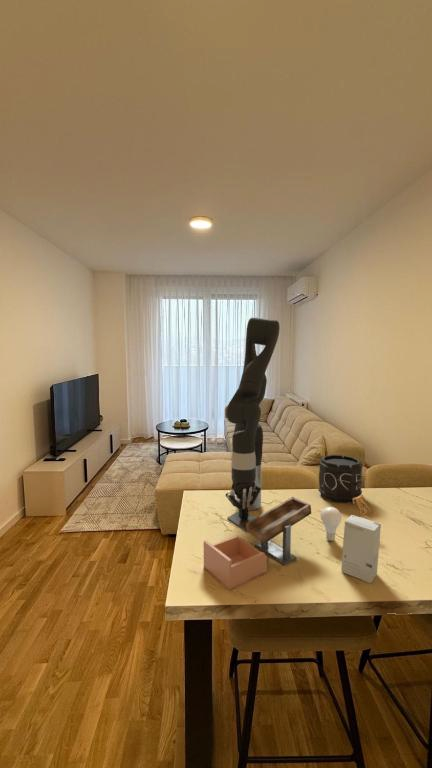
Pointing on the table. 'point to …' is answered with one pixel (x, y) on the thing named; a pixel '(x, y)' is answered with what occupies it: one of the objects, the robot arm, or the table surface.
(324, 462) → the chalkboard pot
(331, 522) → the lightbulb
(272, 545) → the lever stand
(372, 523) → the skincare box
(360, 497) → the figurine
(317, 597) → the table surface
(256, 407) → the robot arm
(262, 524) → the lever trough
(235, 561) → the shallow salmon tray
